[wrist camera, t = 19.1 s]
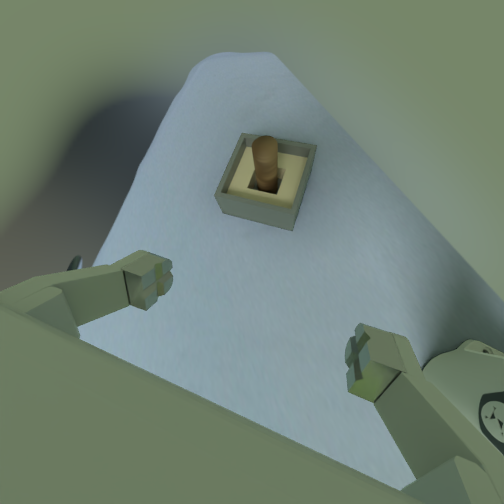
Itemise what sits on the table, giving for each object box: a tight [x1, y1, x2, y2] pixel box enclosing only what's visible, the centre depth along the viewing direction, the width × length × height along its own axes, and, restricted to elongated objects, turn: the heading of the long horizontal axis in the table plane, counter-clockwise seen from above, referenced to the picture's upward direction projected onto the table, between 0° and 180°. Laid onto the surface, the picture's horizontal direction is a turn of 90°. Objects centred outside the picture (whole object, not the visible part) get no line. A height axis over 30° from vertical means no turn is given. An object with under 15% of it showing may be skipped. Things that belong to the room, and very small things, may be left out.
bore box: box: [214, 133, 317, 231], centre depth 43 cm, size 16×16×7 cm
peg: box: [252, 136, 278, 194], centre depth 40 cm, size 4×4×12 cm
